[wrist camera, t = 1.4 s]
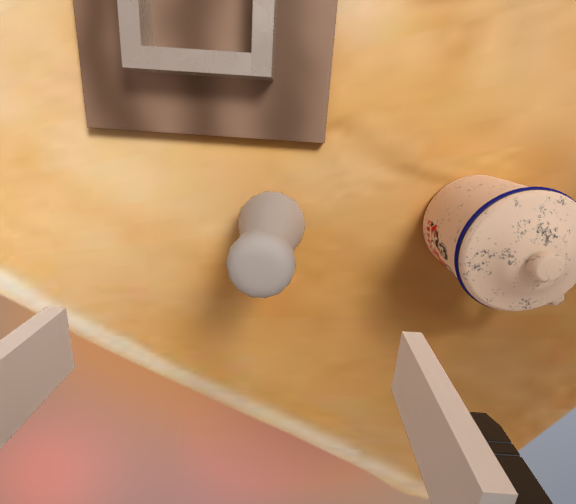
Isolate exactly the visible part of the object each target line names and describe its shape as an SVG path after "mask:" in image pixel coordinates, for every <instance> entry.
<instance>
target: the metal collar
mask: <svg viewBox="0 0 576 504" xmlns="http://www.w3.org/2000/svg"><path fill="white" fill-rule="evenodd" d="M117 6H118V18H119V31H120V44H121V57H122V67H123V68H126V69H129V70H133V71H136V72H148V73H164V74H179V75H194V76H209V77H224V78H240V79H255V80H270V81H274V61H275V39H276V17H277V0H253V14H252V52H251V53H247V52H231V51H216V50H201V49H185V48H170V47H155V46H154V40H153V21H152V2H151V0H117Z"/></svg>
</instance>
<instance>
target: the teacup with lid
mask: <svg viewBox="0 0 576 504" xmlns="http://www.w3.org/2000/svg"><path fill="white" fill-rule="evenodd" d="M423 236H424V240H425V242H426V245H427V247H428V248H429V250H430V251H431V253H432V254H433V255H434V256H435V257H436V258H437V259H438V260H439V261H440V262H441V263H442V264H443V265H444V266H445V267H446V268H447V269H448V270H449V271H450V272H451V273H452V274H453V275H454V276H455V277H456V278H457V279H458V280H459V282H460V284H461V286H462V287H463V289H464V290H465V291H466V292H467V294H468V295H470V296H471V297H472V298H473V299H474V300H476V301H477V302H479V303H481V304H483V305H485V306H487V307H490V308H494V309H498V310H503V311H525V310H531V309H535V308H538V307H541V306H544V305H546V304H548V305H550V306H557V305H559V304H560V303H561V302H563V301H564V299H565V297H564V294H565V293H566V292H567V291H568V290H569V289H571V288H572V287H573V286H574V285H575V283H576V202H575V201H574V200H573V199H572V198H571V197H569V196H567V195H566V194H564V193H562V192H560V191H557V190H554V189H550V188H544V187H529V186H525V185H522V184H518V183H514V182H511V181H507V180H504V179H500V178H497V177H493V176H489V175H470V176H465V177H462V178H459V179H457V180H454V181H452V182H451V183H449V184H448V185H446V186H445V187H443V188H442V189H441V190H440V191H439V192H438V193H437V194H436V195H435V196H434V198H433V199H432V200H431V202H430V204H429V205H428V207H427V209H426V212H425V215H424V219H423Z"/></svg>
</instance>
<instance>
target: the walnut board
mask: <svg viewBox="0 0 576 504" xmlns="http://www.w3.org/2000/svg"><path fill="white" fill-rule="evenodd" d="M151 2H152V21H153V40H154V46H155V47H170V48H185V49H201V50H216V51H231V52H247V53H251V52H252V14H253V0H151ZM337 2H338V0H277V17H276V39H275V61H274V81H270V80H255V79H240V78H224V77H209V76H194V75H179V74H164V73H148V72H136V71H133V70H129V69H126V68H123V67H122V57H121V44H120V31H119V18H118V6H117V0H73V3H74V12H75V21H76V30H77V39H78V48H79V57H80V66H81V75H82V83H83V92H84V101H85V110H86V119H87V127H92V128H107V129H122V130H136V131H151V132H166V133H181V134H196V135H211V136H226V137H241V138H255V139H270V140H285V141H300V142H315V143H325V132H326V121H327V111H328V100H329V89H330V78H331V67H332V56H333V45H334V35H335V24H336V13H337Z"/></svg>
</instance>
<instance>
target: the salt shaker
mask: <svg viewBox="0 0 576 504" xmlns="http://www.w3.org/2000/svg"><path fill="white" fill-rule="evenodd" d="M238 227H239V235H240V237H239V238H238V239H237V240H236V241H235V242H234V243H233V244H232V245H231V247H230V250H229V254H228V257H227V262H226V266H227V271H228V276H229V279H230V280H231V282H232V283H233V284H234V285H235V287H236V288H237V289H238V290H239V291H241V292H243V293H245V294H246V295H248V296H250V297H258V298H267V297H270V296H274V295H277V294H279V293H280V292H281V291H282V290H283V289H284V288H285V287H286V286H287V285H288V284H289V283H290V281H291V279H292V276H293V274H294V271H295V268H296V263H295V257H294V250H295V248H296V247H297V246H298V244H299V243H300V242H301V239H302V236H303V233H304V230H305V222H304V215H303V212H302V211H301V209H300V208H299V206H298V205H297V203H296V202H295V200H293V199H292V198H290V197H288V196H286V195H285V194H283V193H279V192H269V191H266V192H263V193H261V194H258V195H256V196H253V197H251V198H250V199H249V201H248V202H247V203H246V204H245V205H244V206H243V207H242V208H241V212H240V216H239V220H238Z"/></svg>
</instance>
